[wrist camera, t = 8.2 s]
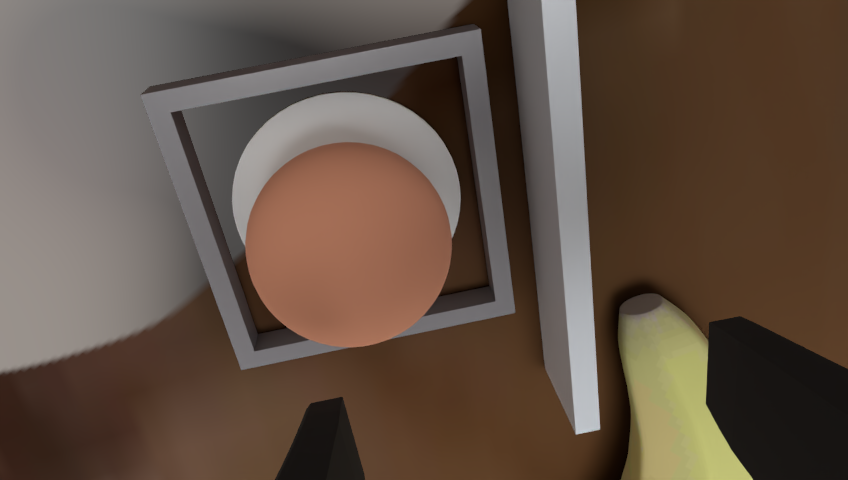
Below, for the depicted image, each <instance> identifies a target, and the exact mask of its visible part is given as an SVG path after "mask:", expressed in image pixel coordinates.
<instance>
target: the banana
mask: <svg viewBox="0 0 848 480" xmlns="http://www.w3.org/2000/svg"><path fill="white" fill-rule="evenodd" d="M618 344H619V350H620V356H621V361H622V365H623V370H624V375H625V379H626V384H627V389H628V395H629V401H630V407H631V426H630V439H629V449H628V456H627V460H626V464H625V468H624V471H623V474H622V477H621V480H753V479H752V477H751V476H750V475H749V473H748V472H747V471H746V469H745V468H744V466H743V465H742V464H741V462H740V461H739V460H738V458H737V457H736V456H735V454H734V453H733V451H732V450H731V448H730V447H729V445H728V443H727V441H726V440H725V438H724V436H723V435H722V433H721V431H720V429H719V428H718V426H717V424H716V422H715V420H714V418H713V417H712V415H711V413H710V411H709V409H708V407H707V406H706V386H707V363H708V340H707V339H706V337H705V336H704V335H703V333H702V332H701V331H700V330H699V328H698V327H697V326H696V325H695V323H694V322H693V321H692V320H691V319H690V318H689V317H688V316H687V315H686V314H685V313H684V312H683V311H681V310H680V309H679V308H677V307H676V306H675V305H673V304H672V303H670V302H669V301H667V300H666V299H664V298H663V297H662V296H660V295H658V294H652V293H650V294H642V295H638V296H635V297H633V298H631V299H629V300H627V301H625V302H624V303H623V304H622V305H621V306H620V309H619V324H618Z"/></svg>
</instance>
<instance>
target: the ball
mask: <svg viewBox="0 0 848 480" xmlns="http://www.w3.org/2000/svg"><path fill="white" fill-rule="evenodd" d="M245 248H246V259H247V264H248V269H249V274H250V277H251V279H252V282H253V285H254V287H255V289H256V291H257V292H258V294H259V296H260V298H261V300H262V301H263V303H264V304H265V306H266V307H267V308H268V310H269V311H270V312H271V313H272V314H273V315H274V316H275V317H276V318H277V319H278V320H279V321H280V322H281V323H283V324H284V325H285V326H286V327H287V328H289V329H290V330H292V331H293V332H295V333H297V334H298V335H300V336H302V337H305V338H307V339H309V340H312V341H315V342H318V343H321V344H325V345H330V346H336V347H361V346H368V345H372V344H376V343H379V342H382V341H385V340H388V339H390V338H392V337H394V336H397V335H399V334H400V333H402V332H404V331H405V330H407V329H408V328H410V327H411V326H412V325H414V324H415V323H416V322H417V321H418V320H419V319H420V318H421V317H422V316H423V315H424V314H425V313H426V312H427V311H428V310H429V308H430V307H431V306H432V304H433V303H434V302H435V300H436V299H437V297H438V295H439V293H440V292H441V290H442V287H443V285H444V282H445V280H446V277H447V274H448V271H449V267H450V261H451V252H452V234H451V229H450V223H449V219H448V215H447V212H446V209H445V206H444V204H443V202H442V200H441V198H440V196H439V194H438V192H437V191H436V189H435V188H434V186H433V185H432V184H431V182H430V181H429V179H428V178H427V177H426V176H425V175H424V174H423V173H422V172H421V171H420V170H419V169H418V168H416V167H415V166H414V165H413V164H412V163H410V162H409V161H408V160H406V159H404V158H403V157H401V156H400V155H398V154H396V153H394V152H392V151H390V150H387V149H385V148H382V147H378V146H375V145H371V144H365V143H357V142H341V143H332V144H327V145H322V146H319V147H316V148H313V149H310V150H308V151H306V152H304V153H302V154H300V155H298V156H296V157H294V158H293V159H291V160H290V161H288V162H287V163H286V164H284V165H283V166H282V167H281V168H280V169H279V170H278V171H277V172H276V173H274V174H273V175H272V177H271V178H270V179H269V180H268V181H267V183H266V184H265V185H264V187H263V188H262V190H261V192H260V193H259V195H258V197H257V199H256V201H255V203H254V205H253V208H252V210H251V213H250V216H249V220H248V224H247V231H246V240H245Z"/></svg>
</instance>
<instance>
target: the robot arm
mask: <svg viewBox="0 0 848 480" xmlns="http://www.w3.org/2000/svg"><path fill="white" fill-rule="evenodd" d="M706 406H707V407H708V409H709V411H710V413H711V415H712V417H713V418H714V420H715V422H716V424H717V426H718V428H719V429H720V431H721V433H722V435H723V436H724V438H725V440H726V441H727V443H728V445H729V447H730V448H731V450H732V451H733V453H734V454H735V456H736V457H737V458H738V460H739V461H740V462H741V464H742V465H743V466H744V468H745V469H746V471H747V472H748V473H749V475H750V476H751V477H752V479H753V480H848V369H847V368H845V367H842V366H840V365H838V364H836V363H834V362H832V361H830V360H828V359H826V358H824V357H822V356H820V355H818V354H816V353H814V352H812V351H810V350H808V349H806V348H804V347H802V346H800V345H798V344H796V343H794V342H792V341H790V340H788V339H786V338H784V337H782V336H780V335H778V334H776V333H774V332H772V331H770V330H768V329H766V328H764V327H762V326H760V325H758V324H756V323H754V322H752V321H749V320H747V319H745V318H743V317H740V316H739V317H734V318H729V319H724V320H719V321H714V322H709V340H708V363H707V386H706ZM275 480H365V477H364V472H363V468H362V465H361V461H360V458H359V454H358V451H357V447H356V444H355V440H354V436H353V433H352V429H351V426H350V422H349V419H348V415H347V412H346V408H345V404H344V401H343V397H339V398H335V399H330V400H325V401H320V402H315V403H311V404H310V405H309V407H308V408H307V409H306V412H305V414H304V417H303V419H302V422H301V424H300V427H299V429H298V432H297V434H296V436H295V438H294V441H293V443H292V445H291V447H290V450H289V452H288V454H287V456H286V458H285V460H284V463H283V465H282V467H281V469H280V471H279V473H278V475H277V477H276V479H275Z"/></svg>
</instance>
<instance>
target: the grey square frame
mask: <svg viewBox="0 0 848 480" xmlns="http://www.w3.org/2000/svg"><path fill="white" fill-rule="evenodd" d="M453 57H457V60H458V67H459V74H460V81H461V88H462V95H463V103H464V110H465V117H466V124H467V131H468V138H469V145H470V152H471V159H472V166H473V174H474V181H475V188H476V195H477V202H478V209H479V216H480V223H481V230H482V238H483V245H484V252H485V259H486V266H487V273H488V280H489V286H488V287H483V288H478V289H474V290H469V291H464V292H459V293H454V294H449V295H445V296H440V297H437V299H436V300H435V302H434V303H433V304H432V306H431V307H430V308H429V310H428V311H427V312H426V313H425V314H424V315H423V316H422V317H421V318H420V319H419V320H418V321H417V322H416V323H415V324H414V325H412V326H411V327H410V328H408V329H407V330H405V331H404V332H402V333H400V334H399V335H397V336H394V337H392V338H390V339H393V338H397V337H402V336H407V335H412V334H416V333H421V332H426V331H431V330H436V329H440V328H445V327H450V326H455V325H460V324H464V323H469V322H474V321H479V320H484V319H488V318H493V317H498V316H503V315H508V314H512V313H515V305H514V297H513V289H512V281H511V273H510V264H509V256H508V248H507V240H506V232H505V223H504V215H503V207H502V199H501V191H500V183H499V174H498V166H497V158H496V150H495V142H494V133H493V125H492V117H491V109H490V101H489V92H488V84H487V76H486V68H485V60H484V51H483V43H482V35H481V29H480V28H479V27H477V26H476V25H475V24H471V25H465V26H460V27H455V28H450V29H445V30H439V31H434V32H429V33H424V34H419V35H414V36H409V37H403V38H398V39H393V40H388V41H383V42H378V43H373V44H368V45H362V46H357V47H352V48H346V49H342V50H336V51H331V52H326V53H321V54H315V55H310V56H306V57H300V58H295V59H290V60H284V61H279V62H274V63H269V64H264V65H258V66H253V67H248V68H243V69H238V70H233V71H227V72H223V73H217V74H212V75H207V76H202V77H196V78H191V79H187V80H181V81H176V82H171V83H165V84H160V85H155V86H150V87H149V88H148V89H146V90H145V92H143V93H142V94H141V95H140V96H141V98H142V101H143V104H144V107H145V109H146V112H147V115H148V117H149V120H150V123H151V126H152V128H153V131H154V134H155V136H156V139H157V142H158V144H159V147H160V150H161V152H162V155H163V158H164V161H165V163H166V166H167V169H168V172H169V174H170V177H171V180H172V183H173V185H174V188H175V191H176V193H177V196H178V199H179V202H180V204H181V207H182V210H183V212H184V215H185V218H186V221H187V223H188V226H189V229H190V231H191V234H192V237H193V240H194V242H195V245H196V248H197V251H198V253H199V256H200V259H201V261H202V264H203V267H204V270H205V272H206V275H207V278H208V280H209V283H210V286H211V289H212V291H213V294H214V297H215V299H216V302H217V305H218V308H219V310H220V313H221V316H222V319H223V321H224V324H225V327H226V329H227V332H228V335H229V338H230V340H231V343H232V346H233V348H234V351H235V354H236V357H237V359H238V362H239V365H240V367H241V370H244V369H249V368H254V367H258V366H263V365H268V364H273V363H278V362H282V361H287V360H292V359H297V358H301V357H306V356H311V355H316V354H321V353H325V352H330V351H335V350H340V349H345V348H349V347H336V346H330V345H325V344H321V343H318V342H315V341H312V340H309V339H307V338H305V337H302V336H300V335H298V334H297V333H295V332H293V331H292V330H290V329H289V328H285V329H280V330H275V331H271V332H266V333H261V334H258V333H257V330H256V327H255V324H254V322H253V319H252V316H251V313H250V310H249V307H248V304H247V301H246V298H245V295H244V292H243V289H242V287H241V284H240V281H239V278H238V275H237V272H236V269H235V266H234V263H233V260H232V257H231V254H230V252H229V249H228V246H227V243H226V240H225V237H224V234H223V231H222V228H221V225H220V223H219V219H218V217H217V214H216V211H215V208H214V205H213V202H212V199H211V196H210V194H209V190H208V187H207V185H206V182H205V179H204V176H203V173H202V170H201V167H200V164H199V161H198V158H197V155H196V152H195V150H194V147H193V144H192V141H191V138H190V135H189V132H188V129H187V126H186V123H185V120H184V117H183V114H182V112H181V110H186V109H191V108H196V107H201V106H206V105H211V104H217V103H222V102H226V101H232V100H237V99H242V98H247V97H252V96H258V95H263V94H268V93H273V92H278V91H283V90H288V89H293V88H299V87H303V86H308V85H314V84H319V83H324V82H329V81H334V80H339V79H345V78H350V77H355V76H360V75H365V74H370V73H375V72H380V71H386V70H390V69H396V68H401V67H406V66H412V65H417V64H422V63H427V62H432V61H437V60H442V59H448V58H453ZM341 142H357V143H365V144H371V145H375V146H378V147H382V148H385V149H387V150H390V151H392V152H394V153H396V154H398V155H400V156H401V157H403V158H404V159H406V160H408V161H409V162H410V163H412V164H413V165H414V166H415V167H416V168H418V169H419V170H420V171H421V172H422V173H423V174H424V175H425V176H426V177H427V178H428V179H429V181H430V182H431V184H432V185H433V186H434V188H435V189H436V191H437V192H438V194H439V196H440V198H441V200H442V202H443V204H444V206H445V209H446V212H447V215H448V219H449V223H450V229H451V234H452V237H453V235H454V232H455V229H456V226H457V223H458V218H459V213H460V201H461V194H460V183H459V179H458V174H457V170H456V167H455V165H454V162H453V159H452V157H451V155H450V153H449V151H448V149H447V147H446V146H445V144H444V142H443V141H442V139H441V138H440V137H439V135H438V134H437V133H436V131H435V130H434V129H433V128H432V127H431V126H430V125H429V124H428V123H427V122H426V121H425V120H424V119H422V118H421V117H420V116H418V115H417V114H416V113H415V112H413V111H412V110H410V109H408V108H406V107H405V106H403V105H401V104H399V103H397V102H395V101H392V100H390V99H387V98H385V97H381V96H377V95H374V94H369V93H362V92H354V91H350V92H349V91H347V92H346V91H342V92H341V91H337V92H330V93H322V94H318V95H315V96H311V97H307V98H305V99H302V100H300V101H297V102H295V103H293V104H291V105H289V106H287V107H286V108H284V109H282V110H281V111H279V112H278V113H276V114H275V115H274V116H272V117H271V118H270V119H269V120H267V121H266V122H265V123H264V124H263V125H262V126H261V127H260V129H259V130H258V131H257V132H256V133H255V134H254V136H253V137H252V138H251V140H250V141H249V143H248V144H247V146H246V148H245V150H244V152H243V154H242V156H241V158H240V160H239V163H238V166H237V169H236V172H235V177H234V182H233V187H232V189H233V190H232V206H233V215H234V219H235V223H236V227H237V230H238V233H239V235H240V237H241V240H242V241H243V244H244V245H245V240H246V231H247V224H248V220H249V216H250V213H251V210H252V208H253V205H254V203H255V201H256V199H257V197H258V195H259V193H260V192H261V190H262V188H263V187H264V185H265V184H266V183H267V181H268V180H269V179H270V178H271V177H272V175H273V174H274V173H276V172H277V171H278V170H279V169H280V168H281V167H282V166H283V165H284V164H286V163H287V162H288V161H290V160H291V159H293V158H294V157H296V156H298V155H300V154H302V153H304V152H306V151H308V150H310V149H313V148H316V147H319V146H322V145H327V144H332V143H341Z"/></svg>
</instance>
